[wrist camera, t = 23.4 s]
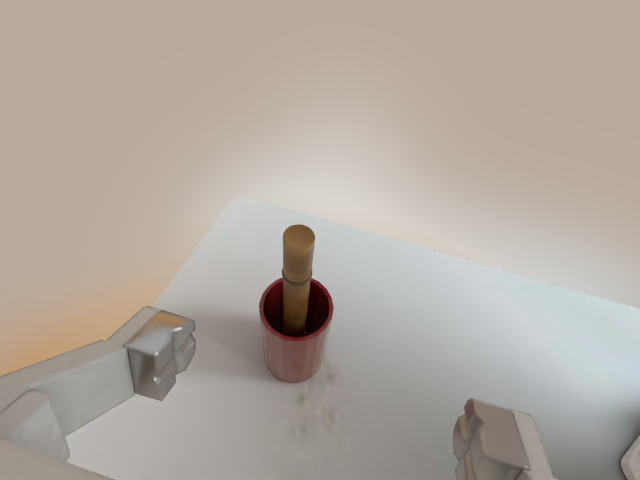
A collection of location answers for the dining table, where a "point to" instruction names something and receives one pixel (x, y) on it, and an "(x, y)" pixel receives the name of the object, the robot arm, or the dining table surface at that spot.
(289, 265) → the tan rod with ring
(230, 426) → the dining table surface
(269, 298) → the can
